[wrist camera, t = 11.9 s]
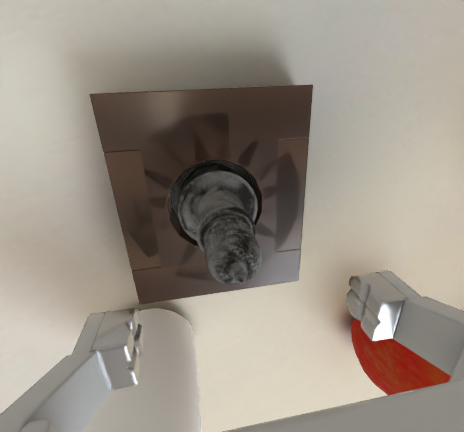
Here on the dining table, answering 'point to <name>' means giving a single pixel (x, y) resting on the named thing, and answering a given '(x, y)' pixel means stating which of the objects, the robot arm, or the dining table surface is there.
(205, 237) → the grey chess piece
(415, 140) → the dining table surface
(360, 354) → the apple
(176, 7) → the dining table surface
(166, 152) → the base pad
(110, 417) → the cup
